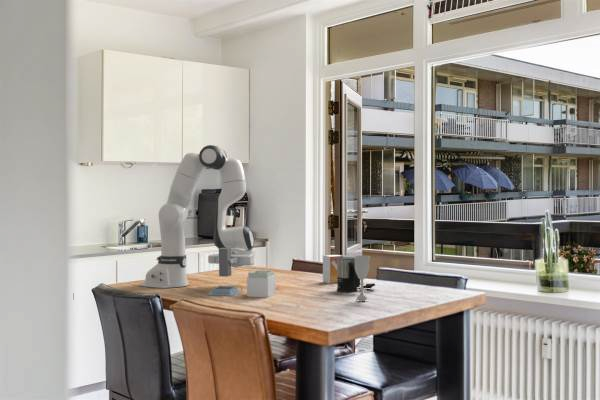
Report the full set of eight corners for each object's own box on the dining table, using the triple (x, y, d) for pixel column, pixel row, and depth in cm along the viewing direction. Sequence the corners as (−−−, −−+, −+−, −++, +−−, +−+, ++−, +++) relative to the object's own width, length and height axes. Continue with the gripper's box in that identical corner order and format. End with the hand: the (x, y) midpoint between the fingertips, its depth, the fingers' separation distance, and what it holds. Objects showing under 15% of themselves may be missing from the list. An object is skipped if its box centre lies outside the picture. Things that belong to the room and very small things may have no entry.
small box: (330, 283, 300) (330, 256, 300) (322, 282, 306) (322, 255, 305) (343, 282, 305) (343, 255, 304) (335, 280, 310) (335, 254, 310)
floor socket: (206, 294, 270) (206, 289, 270) (217, 290, 281) (217, 285, 281) (232, 296, 266) (232, 290, 266) (242, 291, 278) (242, 286, 278)
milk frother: (332, 290, 280) (332, 257, 279) (354, 286, 291) (354, 254, 291) (357, 294, 270) (357, 260, 270) (379, 290, 281) (379, 257, 281)
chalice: (365, 303, 250) (365, 257, 249) (350, 301, 253) (350, 256, 253) (373, 300, 256) (373, 256, 255) (358, 298, 259) (358, 255, 259)
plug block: (219, 276, 272) (218, 248, 272) (222, 275, 276) (222, 247, 276) (227, 276, 271) (227, 248, 271) (231, 275, 275) (230, 247, 275)
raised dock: (246, 296, 266) (246, 272, 265) (254, 292, 275) (254, 269, 275) (268, 297, 263) (268, 273, 263) (275, 293, 272) (275, 270, 272)
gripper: (215, 250, 289) (202, 253, 275) (256, 250, 283) (245, 254, 270) (215, 264, 289) (202, 267, 276) (257, 264, 283) (246, 268, 270)
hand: (224, 261), depth 273 cm, fingers closed on plug block, 4 cm apart
